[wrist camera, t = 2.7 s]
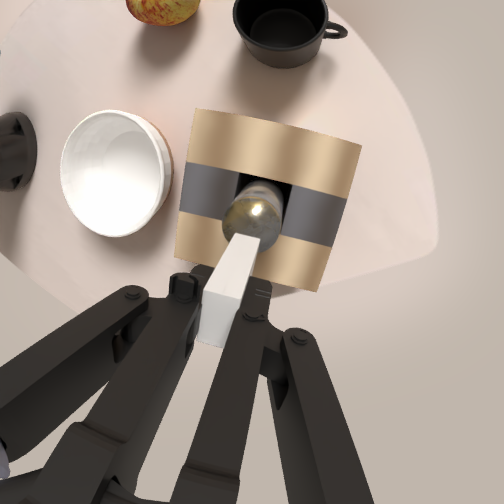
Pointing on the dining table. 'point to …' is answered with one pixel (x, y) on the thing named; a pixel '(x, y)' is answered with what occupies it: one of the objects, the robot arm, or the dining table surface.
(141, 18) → the apple
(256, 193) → the peg
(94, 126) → the bowl
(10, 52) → the dining table surface
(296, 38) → the mug
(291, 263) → the socket block
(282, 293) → the dining table surface
